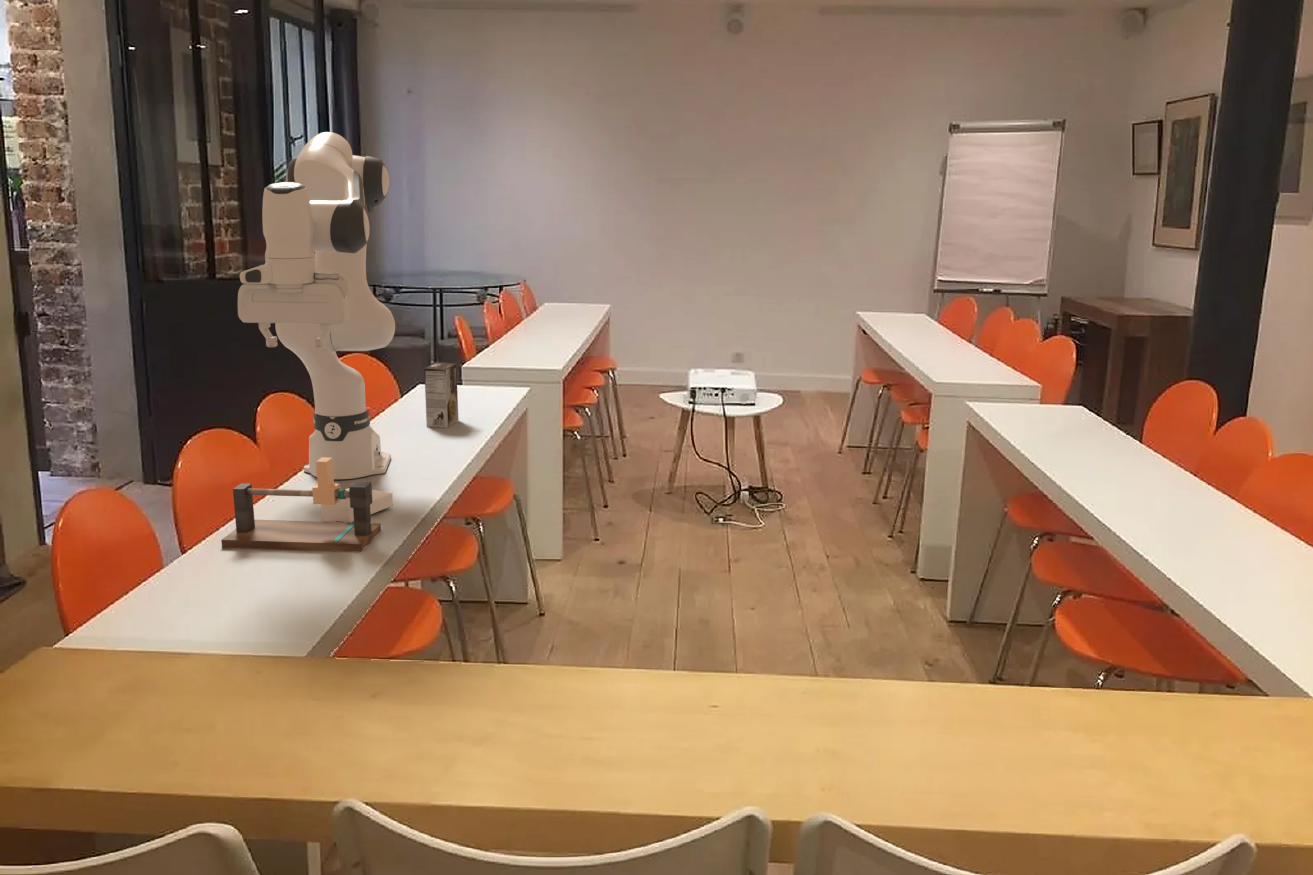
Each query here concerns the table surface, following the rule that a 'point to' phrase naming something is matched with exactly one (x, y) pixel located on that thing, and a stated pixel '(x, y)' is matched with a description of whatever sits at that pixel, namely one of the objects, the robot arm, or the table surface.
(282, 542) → the linear slide rail
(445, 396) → the coffee box
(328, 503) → the orange l-shaped block
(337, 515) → the bracket
